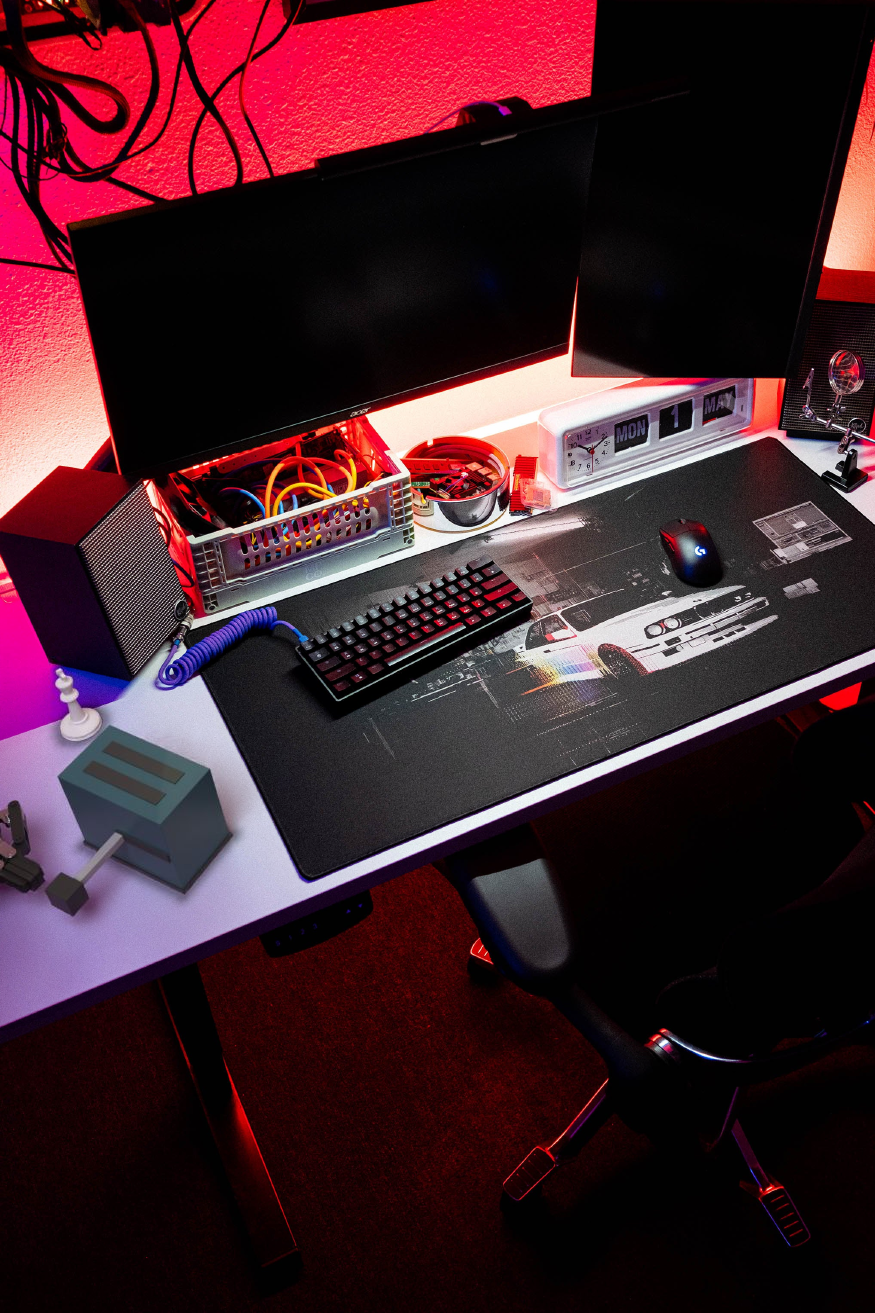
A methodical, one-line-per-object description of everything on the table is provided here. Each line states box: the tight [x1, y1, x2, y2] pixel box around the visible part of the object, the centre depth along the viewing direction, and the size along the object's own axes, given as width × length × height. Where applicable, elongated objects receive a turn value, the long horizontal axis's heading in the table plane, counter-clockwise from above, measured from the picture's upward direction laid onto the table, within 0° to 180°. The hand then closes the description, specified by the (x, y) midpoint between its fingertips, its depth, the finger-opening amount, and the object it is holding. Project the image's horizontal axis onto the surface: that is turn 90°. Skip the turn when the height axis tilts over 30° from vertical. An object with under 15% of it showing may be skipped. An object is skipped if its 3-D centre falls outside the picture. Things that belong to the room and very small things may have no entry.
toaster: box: [57, 724, 234, 895], centre depth 124 cm, size 8×14×12 cm, turn 63°
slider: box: [43, 832, 124, 917], centre depth 118 cm, size 9×3×3 cm, turn 153°
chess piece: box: [55, 668, 103, 742], centre depth 138 cm, size 5×5×10 cm
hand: (38, 881), depth 117 cm, fingers closed
